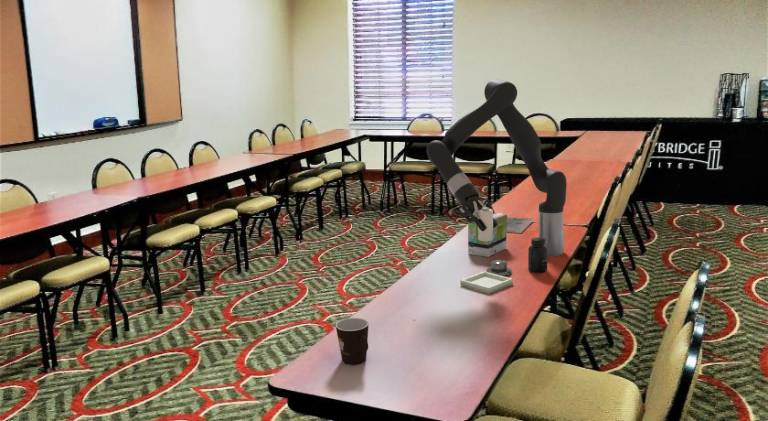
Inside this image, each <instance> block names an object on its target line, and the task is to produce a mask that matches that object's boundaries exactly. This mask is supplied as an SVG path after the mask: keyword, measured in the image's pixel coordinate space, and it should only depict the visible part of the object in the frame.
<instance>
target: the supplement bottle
mask: <svg viewBox="0 0 768 421" xmlns="http://www.w3.org/2000/svg"><path fill="white" fill-rule="evenodd" d="M530 239H531V240H530V244H531V245H530V246H529V247H528V253H527V255H528V258H527V259H528V260H527V262H528V264H527V265H528V266H527V269H528V272H530V273H533V274H544V273H546V272H548V258H549V256H548V249H547V247H546V246H545V239H544V238H539V236H538V237H537V236H536V237H532V238H530Z"/></svg>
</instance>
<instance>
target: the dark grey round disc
mask: <svg viewBox="0 0 768 421" xmlns="http://www.w3.org/2000/svg"><path fill="white" fill-rule="evenodd" d="M485 272H489V273H492V274H496V275H500V276H504V277H508V276H511V275H512V273H513V270H512V269H511V268H510V267H508V263H507V261H506V260H502V259H496V260H492V261H490V267H488V268H486V271H485Z"/></svg>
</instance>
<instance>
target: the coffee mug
mask: <svg viewBox="0 0 768 421" xmlns="http://www.w3.org/2000/svg"><path fill="white" fill-rule="evenodd" d="M335 331H336V335H337V340H338V347H339V351H340V356H341V357H340V358H341V361H343V362H344V363H345V365H347V364H349V365H348V366H357V364H359V365H362V364H364V363H365V362H366V361H367V354H368V350H369V342H368V341H369V340H368V339H369V320H368V319H367V320H366V319H365V318H360V317H350V318H349V317H348V318H344V319H340V320H339V321H337V322H336V323H335ZM343 362H342V363H343ZM363 362H364V363H363ZM344 363H343V364H344ZM361 363H362V364H361Z"/></svg>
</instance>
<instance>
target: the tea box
mask: <svg viewBox="0 0 768 421" xmlns="http://www.w3.org/2000/svg"><path fill="white" fill-rule="evenodd" d="M507 215H508V214H507V213H498V212H495V213H494V214H493V218H494V219H495V221H496V222H497V226H496V227H495V228H493V240H491V241H480V240H478V226H477V224H476V223H474V222H471V223H470V222H469V221H468V220H467V221H468V222H467V225H468V226H467V229H468V230H467V231H468V232H467V253H468V254H469V255H473V256H479V257H487V258H489V257H491V256H493V255H495V254H497V253H499V252H501V251H504V250H506V249H507V239H508V238H507V236H508V235H507V233H508V232H507V217H508V216H507Z"/></svg>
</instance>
